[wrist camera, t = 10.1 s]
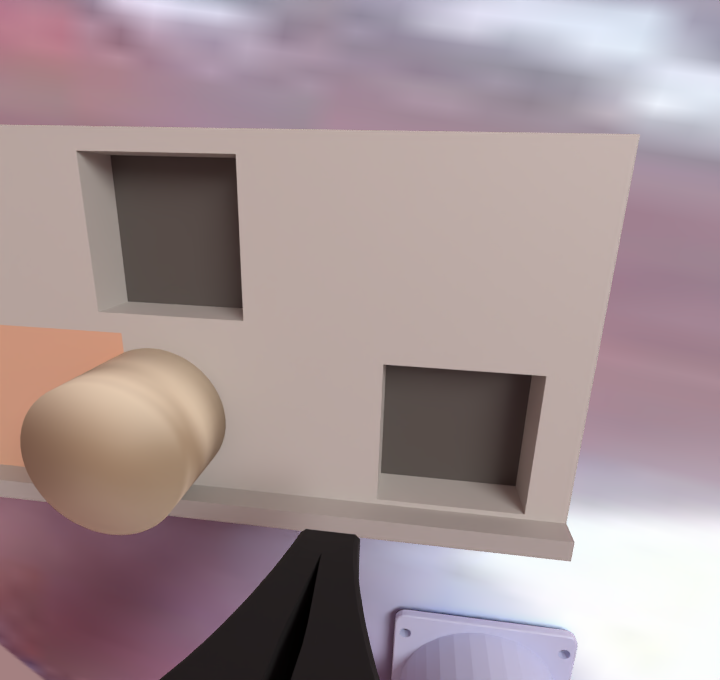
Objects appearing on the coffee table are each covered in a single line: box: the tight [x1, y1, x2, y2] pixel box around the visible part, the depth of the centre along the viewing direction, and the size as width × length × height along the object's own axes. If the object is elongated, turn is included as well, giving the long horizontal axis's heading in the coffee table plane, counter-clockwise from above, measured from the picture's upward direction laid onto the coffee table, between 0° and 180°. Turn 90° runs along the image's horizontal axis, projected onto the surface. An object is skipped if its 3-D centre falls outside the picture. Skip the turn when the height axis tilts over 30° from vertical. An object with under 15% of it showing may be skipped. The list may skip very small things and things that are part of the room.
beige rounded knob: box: [20, 348, 226, 535], centre depth 16 cm, size 5×5×4 cm
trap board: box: [0, 125, 640, 561], centre depth 17 cm, size 14×24×4 cm, turn 88°
